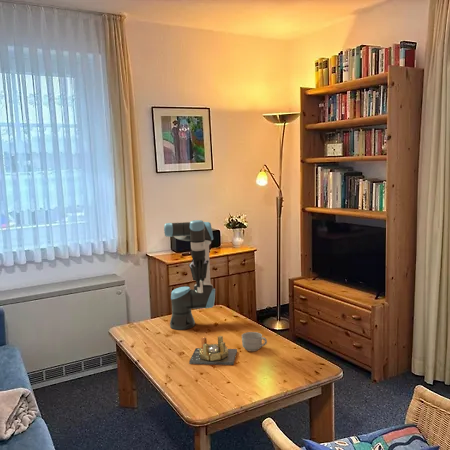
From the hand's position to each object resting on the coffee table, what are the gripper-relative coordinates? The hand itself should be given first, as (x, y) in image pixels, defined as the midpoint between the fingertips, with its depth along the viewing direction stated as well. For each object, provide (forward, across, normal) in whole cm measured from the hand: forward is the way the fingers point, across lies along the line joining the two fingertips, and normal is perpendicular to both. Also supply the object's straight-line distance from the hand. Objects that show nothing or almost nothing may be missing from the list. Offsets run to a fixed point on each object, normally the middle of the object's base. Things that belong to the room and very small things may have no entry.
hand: (200, 292), depth 258 cm
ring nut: (+28, -9, -17) cm, 34 cm away
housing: (+29, -9, -17) cm, 35 cm away
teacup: (+30, +12, -27) cm, 42 cm away
